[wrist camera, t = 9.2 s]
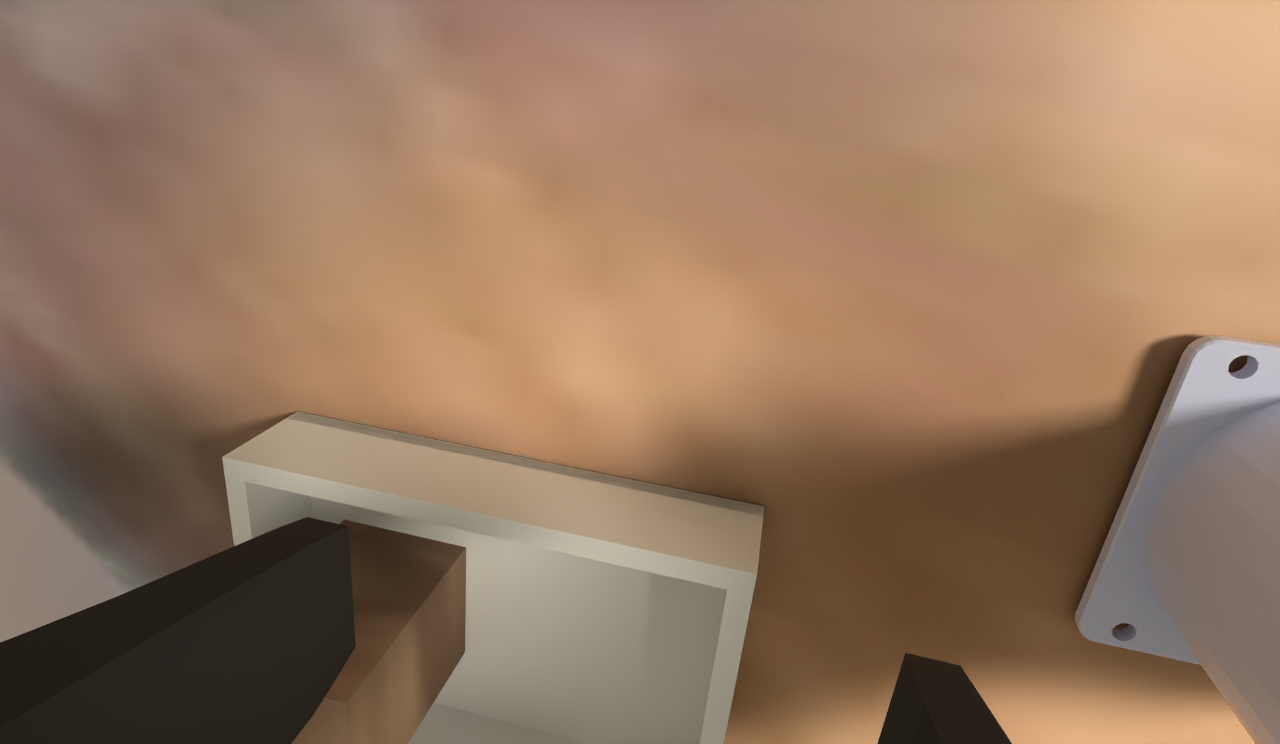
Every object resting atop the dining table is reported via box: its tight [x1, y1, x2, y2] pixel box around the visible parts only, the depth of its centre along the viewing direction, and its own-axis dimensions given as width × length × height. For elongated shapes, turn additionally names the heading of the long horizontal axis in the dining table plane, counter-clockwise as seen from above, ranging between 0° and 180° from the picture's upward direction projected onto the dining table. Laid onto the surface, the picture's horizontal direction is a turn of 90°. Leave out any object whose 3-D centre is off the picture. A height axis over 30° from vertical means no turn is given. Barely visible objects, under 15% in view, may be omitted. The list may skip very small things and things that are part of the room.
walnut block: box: [291, 520, 466, 744], centre depth 19 cm, size 4×4×6 cm
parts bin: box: [222, 411, 765, 744], centre depth 21 cm, size 14×10×3 cm
